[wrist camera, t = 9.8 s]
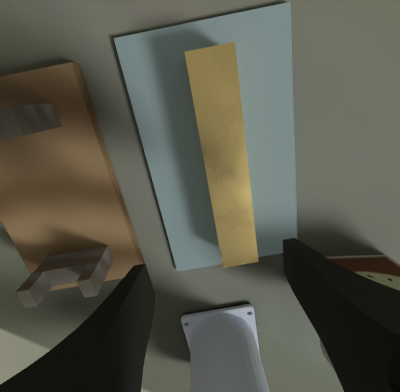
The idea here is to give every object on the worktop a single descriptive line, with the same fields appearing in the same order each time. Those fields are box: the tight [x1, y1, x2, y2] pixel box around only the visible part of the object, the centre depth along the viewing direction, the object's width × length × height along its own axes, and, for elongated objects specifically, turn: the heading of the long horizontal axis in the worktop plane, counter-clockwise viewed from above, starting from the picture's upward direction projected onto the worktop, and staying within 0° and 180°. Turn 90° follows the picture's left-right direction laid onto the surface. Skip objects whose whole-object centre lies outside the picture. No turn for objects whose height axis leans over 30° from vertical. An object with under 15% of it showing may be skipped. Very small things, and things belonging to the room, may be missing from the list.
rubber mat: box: [114, 2, 298, 272], centre depth 20 cm, size 20×12×1 cm, turn 10°
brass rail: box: [184, 42, 259, 268], centre depth 19 cm, size 16×3×3 cm, turn 10°
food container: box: [320, 255, 400, 370], centre depth 21 cm, size 12×6×10 cm, turn 90°
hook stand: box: [0, 62, 145, 308], centre depth 18 cm, size 18×10×6 cm, turn 10°
